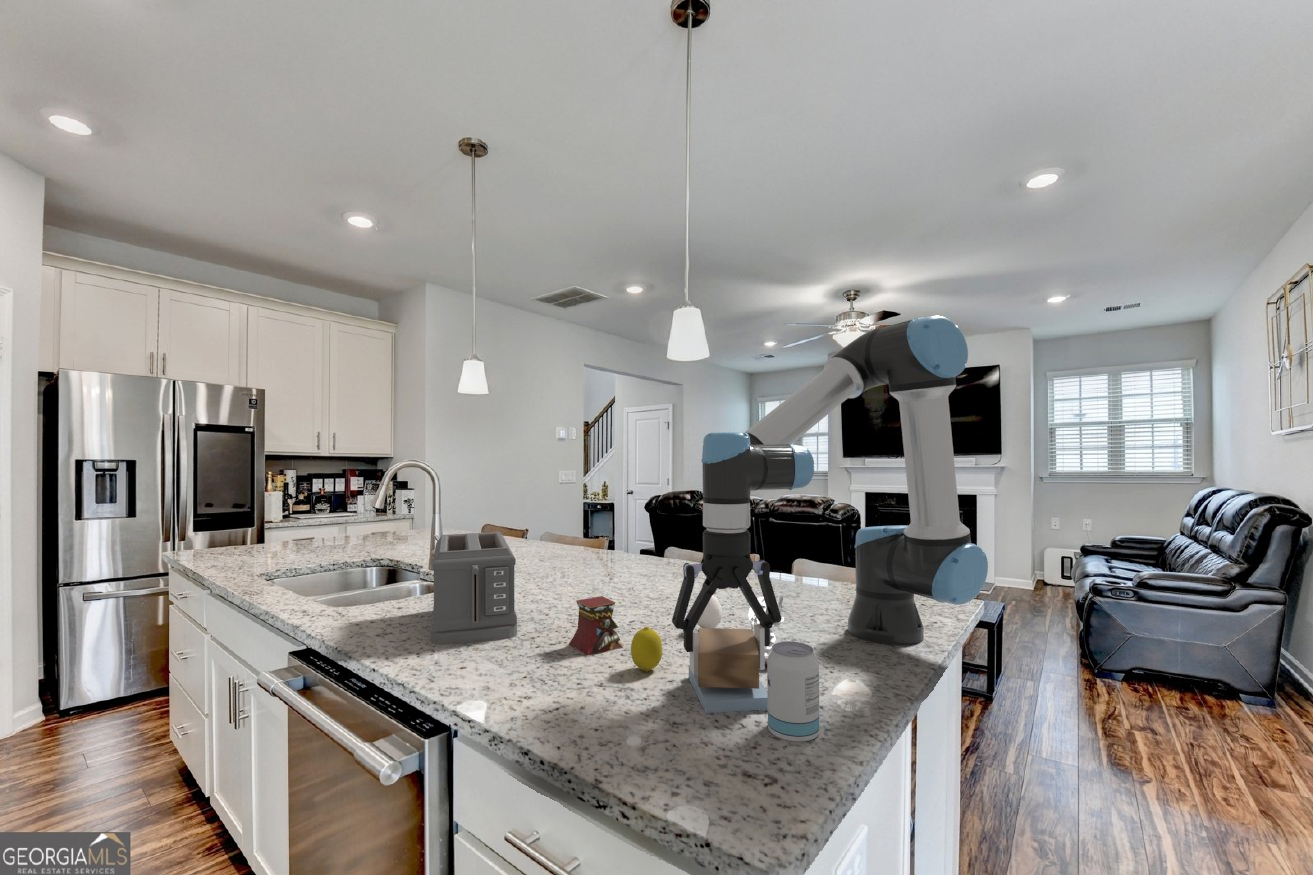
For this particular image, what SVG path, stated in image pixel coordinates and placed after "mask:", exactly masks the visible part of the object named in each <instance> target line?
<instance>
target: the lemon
mask: <svg viewBox="0 0 1313 875" xmlns="http://www.w3.org/2000/svg"><path fill="white" fill-rule="evenodd" d="M630 655H631V659H632V661H633V664H634V665H635V666H636V667H637V668H638V669H641V670H642V671H643V672H650V671H651V670H653V669H655V668H656V667H657V666H658V665H659V663H660V662H661V660H662V658H663V643H662V638H661V637H660V635H659V633H658V632H657V631H656V630H654V629H653V628H650V627H649V626H644V627H643V628H641V629H639V630H638V631H636V632H635V634H634V635H633V638H632V640H631V644H630Z"/></svg>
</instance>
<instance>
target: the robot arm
mask: <svg viewBox="0 0 1313 875" xmlns="http://www.w3.org/2000/svg"><path fill="white" fill-rule="evenodd" d="M961 330H962V329H960V327H959V326H958V325H956V323H955V322H954V321H952V320H950V319H949V318H947V317H945V316H942V315H941V316H940V315H931V316H925V317H924V316H923V317H922V316H921V317H917V318H913V319H910V320H905V321H901V322H897V323H895V324H891V325H886V326H880V327H877V328H873V329H870V330H869V331H867V332H865V333H863V334H862V335H860V336H859V337H856V339H854V340H853V341H851V342H850V343H848V344H847V345H846V346H844V347H843V348H842V349H840V350H839V351H838V352H837V353H835V354H834V355H832V356H831V357H830V358H829V359H828V360H826V361H825V363H824V366H823V370H822V371H821V372H819V373H818V374H817V375H815V376H814V377H813V378H811V379H810V380H809V381H808V382H806V383H805V384H804V385H802V387H800V388H799V389H798V390H796V391H795V392H794V393H792V394H791V395H790V396H789V397H787V398H786V399H785V400H784V401H782V402H781V403H780V404H779V405H777V406H776V407H775V408H773V410H771V411H770V412H768V414H766V415H764V416H763V417H762V418H761V419H760V420H758V421H757V422H756V423H754V424H753V425H752V426H751V427H749V428H748V429H747V430H745V432H740V431H739V432H735V431H733V432H731V431H729V432H723V431H722V432H709V433H707V434H705V436H704V438H703V440H702V443H703V444H702V453H701V454H702V457H701V463H702V465H701V467H702V526H703V527H704V528H705V529H704V531H703V532H702V559H701V560H700V562H699V563H693V564H690V563H689V562H685V563H683V566H682V569H683V571H682V572H683V580H682V583H681V586H680V590H679V593H678V596H677V597H678V598H677V600H676V604H675V607H674V610H673V613H672V618H671V622H672V623H671V624H672V625H673V626H674V627H675V629H677V630H683V648H684V650H685V652H686V653H689V665H690V670H691V671H692V673H693V674H694V675H698V646H699V630H697V629H696V627H697V625H698V624H697V623H698V621H699V619H700V617H701V615H702V614H703V612H704V610H705V608H706V606H707V604H708V602H709V601H710V599H711V597H712V595H713V596H714V595H715V594H716V592H717V590H725V589H739V590H740V591H741V593H742V594H743V596H744V598H745V600H746V602H747V603H748V604H749V606H750V607H751V608H752V610H753V612H754V614H755V615H756V617H757V619H758V620H759V622H760V624H759V623H755V624H754V625H753V633H754V637H755V641H756V645H757V649H758V653H759V671H763V670H766V664H765V647H766V646H769V644H770V628H771V629H772V628H773V627H772V626H773V623H775V622H777V623H778V622H780V621H781V619H782V615H780V611H779V608H778V601H777V599H776V595H775V591H774V588H773V585H772V580H771V577H770V576H771V575H770V574H771V573H770V572H771V565H770V563H769V562H768V561H765V560H764V559H759V560H758V561H756V560H755V561H754V560H752V558H751V532H750V530H748V529H749V528H750V527H751V491H752V492H753V491H760V490H761V491H762V490H763V491H765V490H766V491H769V490H771V491H772V490H773V491H774V490H775V491H777V490H789V491H791V490H793V489H803V488H805V487H807V486H808V485H809V484H810V483H811V481H812V479H813V477H814V474H815V461H814V457H813V455H812V453H811V450H809V449H808V448H807V447H805V446H804V445H802V444H794V443H795V442H796V441H797V440H799V439H800V438H801V437H802V436H803V435H805V434H806V433H807V432H808V431H810V430H811V429H812V428H813V427H815V425H817V424H818V423H819V422H821V421H822V420H823V419H824V418H825V417H827V416H828V415H829V414H830V413H832V412H833V411H834V410H835V409H836V408H838V407H839V406H840V405H842V404H843V403H844V402H845V401H846V400H848V399H855V398H858V397H859V396H860V395H861V394H863V393H864V392H866V391H867V390H870V389H872V388H876V387H879V386H884V385H888V390H889V395H890V396H892V397H893V398H894V399H896V400H897V401H898V404H899V406H898V407H899V412H900V413H899V414H900V424H901V426H900V427H901V432H902V433H901V436H902V445H903V454H904V456H903V457H904V465H905V475H906V476H905V477H906V484H907V485H906V486H907V494H908V506H909V514H910V523H909V525H902V524H901V525H881V526H879V525H877V526H868V527H867V526H866V527H862V528H860V529H858V530H857V531H856V534H855V544H854V556H855V557H854V559H855V562H854V564H855V591H856V592H855V598H854V600H853V604H852V606H851V609H850V613H849V616H848V619H847V631H848V633H849V634H850V635H851V636H853V637H854V638H857V639H860V640H862V641H866V642H870V643H874V644H879V645H880V644H881V645H892V646H909V645H914V644H918V643H920V642H922V641H923V640H924V639H925V637H924V636H925V634H924V632H925V630H924V629H925V628H924V625H923V621H922V619H921V616H920V613H919V610H918V607H917V605H916V601H915V595H916V596H919V597H924V598H926V599H929V600H930V599H931V600H934V601H936V602H938V603H941V604H943V603H947V604H951V605H956V606H957V605H958V606H960V605H965V604H968V603H970V602H971V601H973V600H974V599H975V598H977V596H978V595H979V594H980V592H981V591H982V589H983V588H984V586H985V582H986V581H987V579H988V578H987V576H988V573H989V571H988V570H989V561H988V558H987V554H986V553H985V551H983V549H982V548H981V547H980V546H978V545H976V543H972V540H971V538H972V537H971V531H970V528H969V527H967V526H966V525H965V524H963V523H962V521H961V518H960V509H959V508H960V507H959V497H958V488H957V477H956V476H957V475H956V466H955V465H956V464H955V457H954V456H955V455H954V446H953V445H954V444H953V436H952V435H953V434H952V424H951V412H950V403H949V396H950V395H951V393H952V392H953V391H954V390H955V388H956V387H957V382H956V381H957V380H956V377H958V376H959V375H960V374H961V373H962V372H963V371H964V370H965V368H966V364H967V363H968V360H969V349H968V344H967V341H966V338H965V336H964V334H963V332H962V331H961ZM752 570H753V571H754V573H755V575H757V579H758V583H759V587H760V590H761V594H762V597H764V600H765V604H766V607H767V611H768V614H767V615H766V613H765V611H764V609H763V608H762V606H761V604H760V603H759V601H758V599H757V598H758V597H757V596H756V594H755V593H754V590H753V589H752V586H751V584H750V582H749V580H748V576H749V574H750V573H751V572H752ZM700 572H702V573H703V574H704V576H705V577H706V578H705V580H703V583H702V584H701V585H702V586H701V588H700V590H699V593H698V594H697V596H696V598H695V600H694V602H693V604H692V605H691V607H690V609H689V611H688V607H689V604H690V601H691V597H692V593H693V589H694V587H695V581H696V580H695V579H697V578H698V576H699V574H700ZM750 607H749V608H750ZM687 611H688V613H687ZM686 614H687V615H686Z"/></svg>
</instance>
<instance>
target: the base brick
mask: <svg viewBox="0 0 1313 875" xmlns="http://www.w3.org/2000/svg"><path fill="white" fill-rule="evenodd" d="M688 679H689V681H690V684H691V686H692V687H693V690H694V692H695V694H696V697H698V700H699V702H700V704H701V705H702V708H703V710H704V712H705V713H706V714H709V713H710V714H713V713H715V714H716V713H731V712H733V711H734V712H735V711H737V712H753V711H752V710H759V711H768V693H767V688H766V687H765V686H764V685H763V683H762V682H761V681H760V680H759V689H754V688H723V687H698V675H694V674H693V673H692V671H691V670H690V664H689V665H688ZM749 710H751V711H749Z"/></svg>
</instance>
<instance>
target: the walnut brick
mask: <svg viewBox="0 0 1313 875" xmlns="http://www.w3.org/2000/svg"><path fill="white" fill-rule="evenodd" d="M698 633H699V646H698V687H723V688H754V689H759V681H760V669H759V653H758V649H757V645H756V641H755V637H754V628H753V629H752V628H723V627H722V628H720V627H719V628H717V627H715V628H701V627H699V628H698Z"/></svg>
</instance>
